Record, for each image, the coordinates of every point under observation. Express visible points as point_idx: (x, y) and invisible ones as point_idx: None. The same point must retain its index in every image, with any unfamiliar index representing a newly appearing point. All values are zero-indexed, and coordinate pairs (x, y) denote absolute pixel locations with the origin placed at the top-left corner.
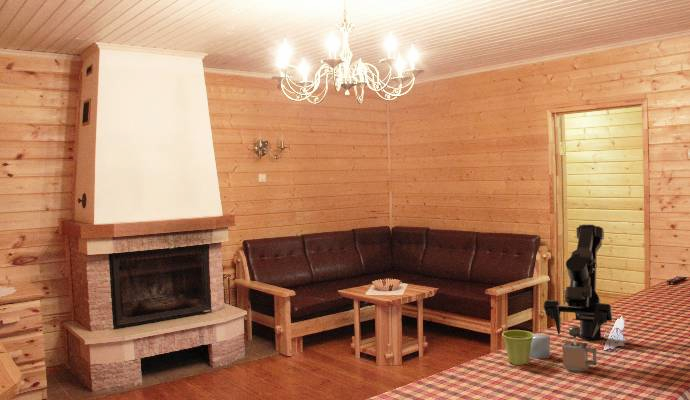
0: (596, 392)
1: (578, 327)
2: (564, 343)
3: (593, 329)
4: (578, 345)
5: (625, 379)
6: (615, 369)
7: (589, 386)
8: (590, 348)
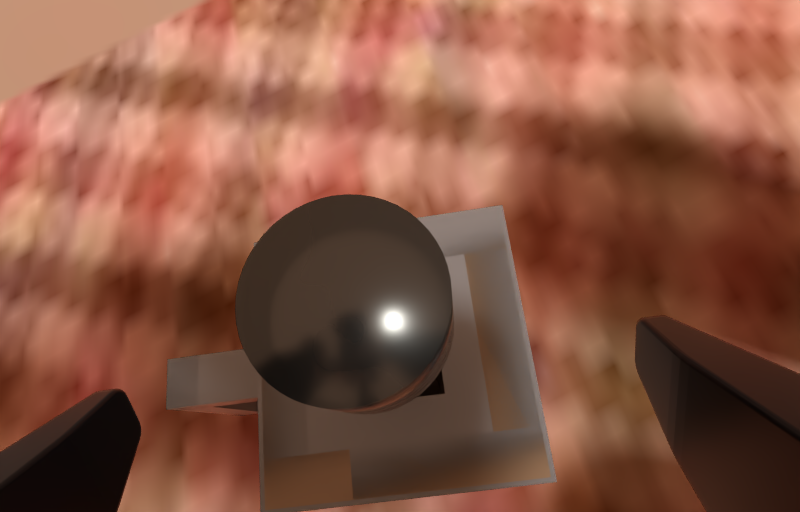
0: (209, 22)
1: (276, 375)
2: (528, 354)
3: (10, 453)
4: None
5: (64, 300)
6: (129, 497)
7: (255, 80)
8: (224, 379)
